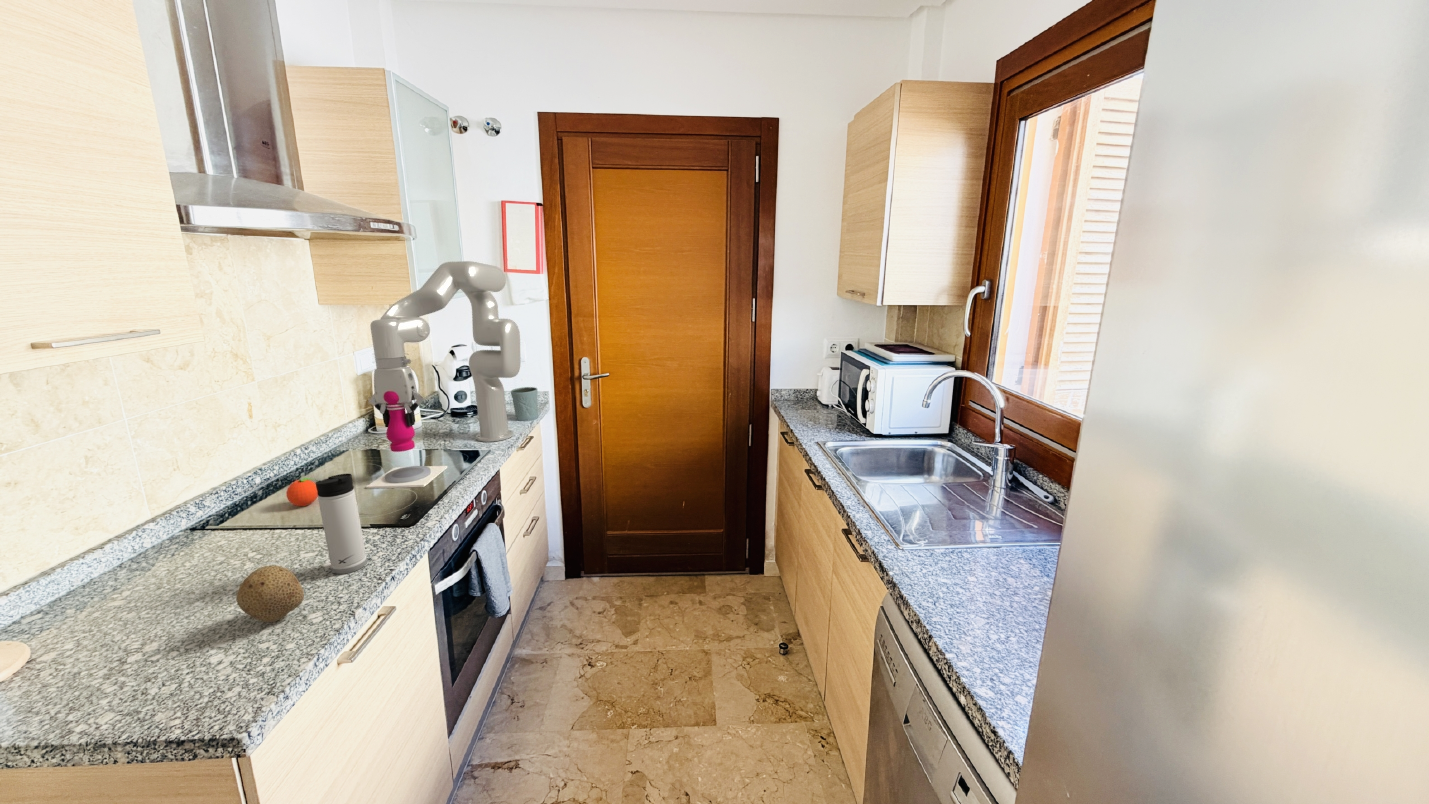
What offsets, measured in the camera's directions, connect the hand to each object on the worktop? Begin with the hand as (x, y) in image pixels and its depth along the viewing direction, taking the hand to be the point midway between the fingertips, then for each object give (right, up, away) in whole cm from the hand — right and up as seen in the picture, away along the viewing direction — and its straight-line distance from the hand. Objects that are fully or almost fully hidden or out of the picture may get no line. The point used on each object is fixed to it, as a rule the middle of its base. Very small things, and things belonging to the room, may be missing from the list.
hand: (400, 425), depth 169 cm
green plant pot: (+15, 0, +68) cm, 70 cm away
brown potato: (+13, -32, -65) cm, 73 cm away
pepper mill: (0, -7, +2) cm, 7 cm away
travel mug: (+15, -28, -47) cm, 57 cm away
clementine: (-17, -21, -14) cm, 30 cm away
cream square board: (0, -16, +4) cm, 16 cm away
